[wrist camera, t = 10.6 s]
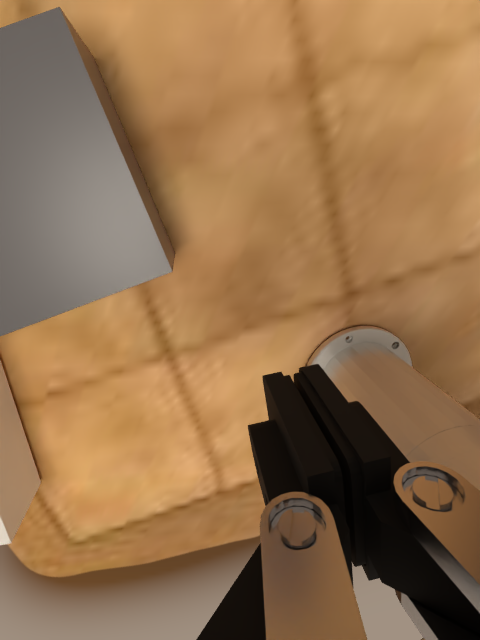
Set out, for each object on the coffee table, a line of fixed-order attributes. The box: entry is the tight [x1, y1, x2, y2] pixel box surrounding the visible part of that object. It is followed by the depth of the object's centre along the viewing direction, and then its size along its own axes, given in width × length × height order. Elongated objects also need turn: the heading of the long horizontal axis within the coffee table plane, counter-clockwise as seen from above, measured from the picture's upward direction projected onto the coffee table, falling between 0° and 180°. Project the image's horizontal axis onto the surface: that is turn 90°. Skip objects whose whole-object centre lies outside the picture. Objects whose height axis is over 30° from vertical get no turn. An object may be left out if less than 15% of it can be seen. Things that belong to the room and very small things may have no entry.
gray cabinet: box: [0, 7, 175, 336], centre depth 26 cm, size 16×20×8 cm
